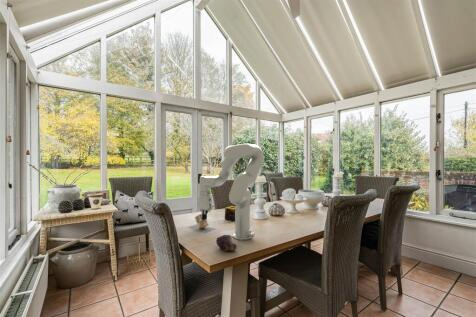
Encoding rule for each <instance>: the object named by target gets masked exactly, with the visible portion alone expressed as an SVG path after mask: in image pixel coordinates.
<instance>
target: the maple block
mask: <svg viewBox="0 0 476 317" xmlns="http://www.w3.org/2000/svg"><path fill="white" fill-rule="evenodd" d="M194 219H195V221H196V225H198V227H199V229H202V228H204V227H209V222H208V220H207V219H205V220H202V213H201V214H198V215H196V216H195V217H194Z"/></svg>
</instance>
